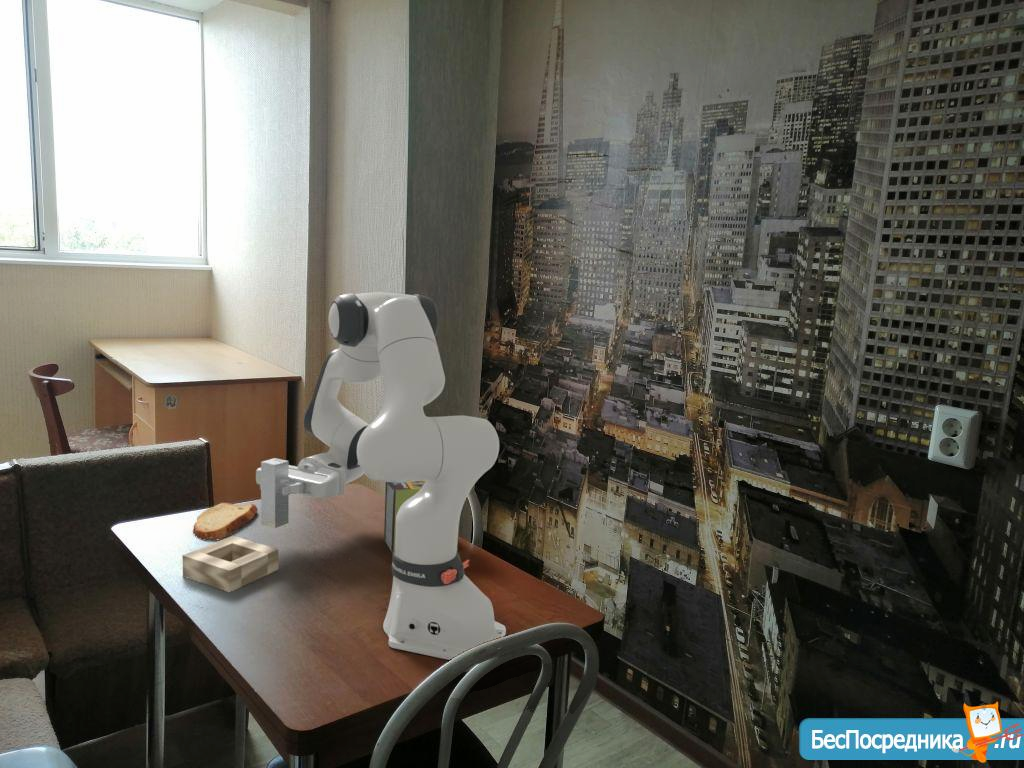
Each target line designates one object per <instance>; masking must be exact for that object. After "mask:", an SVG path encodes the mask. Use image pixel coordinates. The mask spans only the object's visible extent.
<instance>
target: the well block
mask: <svg viewBox="0 0 1024 768" xmlns="http://www.w3.org/2000/svg"><path fill="white" fill-rule="evenodd" d="M278 570H279V549H278V548H275V547H272V546H270V545H266V544H261V543H258V542H256V541H251V540H249V539H246V538H243V537H242V538H241V537H239V536H235V535H231V536H229V537H228V536H227V538H226V537H225V538H222V539H220V540H217V541H216V542H213V543H211V544H208V545H205V546H203V547H201V548H198V549H196V550H193V551H190V552H188V553H185V554H182V577H183V576H185V577H184V578H186V577H188V578H187V579H189V578H191V579H190V580H192V579H194V580H193V581H195V580H196V581H195V582H197V581H199V582H198V583H200V582H202V583H201V584H203V583H205V584H204V585H206V584H207V586H209V585H210V586H209V587H212V586H213V587H212V588H215V589H217V590H222V591H223V590H224V592H227V593H229V592H230V593H232V592H234V591H236V590H238V589H240V588H242V587H244V586H247V585H249V584H251V583H253V582H255V581H257V580H259V579H261V578H263V577H266V576H268V575H270V574H272V573H275V572H276V571H278ZM231 591H232V592H231Z"/></svg>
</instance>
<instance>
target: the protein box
mask: <svg viewBox="0 0 1024 768" xmlns="http://www.w3.org/2000/svg"><path fill="white" fill-rule="evenodd" d="M425 481H426V480H423V481H413V482H403V483H391V482H385V493H384V495H385V497H384V499H385V501H384V529H383V530H384V531H383V541H384V542H385V544H386V546H387V547H388V549H389V551H390V552H391V555H393V551H394V550H395V537H396V516H397V513H398V510H399V508H400V507H401V505H402V504H403V503H404V502H405V501H406V500H408V499H409V498H411V497H412V496H414V495H415V494H416V493H417V492H418V491H419V490H420V489H421V488H422V486H423V485H424V483H425ZM458 531H459V528H458ZM458 546H459V537H458V538H457V550H458V548H459V547H458Z"/></svg>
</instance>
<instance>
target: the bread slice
mask: <svg viewBox="0 0 1024 768" xmlns="http://www.w3.org/2000/svg"><path fill="white" fill-rule="evenodd" d="M230 505H231V506H230ZM258 510H259V508H258V507H257V505H256V504H254V503H251V504H248V505H238V504H234V503H230V502H220V503H219V504H216V505H214V506H212V507H209V508H207V509H206V510H204V511H203V512H202V513H200V514H199V515H198V516H197V518H196V522H195V523H194V525H193V530H192V533H193V535H194V534H195V535H194V536H195V537H196V536H197V537H199V538H201V539H200V540H202V539H205V540H204V541H206V540H215V541H218V540H217V539H220V540H222V539H224V538H226V537H228V536H230V535H232V534H233V532H234V531H235V532H236V531H238V530H239V529H241V528H242V527H244V526H245V525H247V524H248V523H249V522H250V521H251V520H252V519H253V518H254V517H255V515H256V514H257V512H258ZM240 527H241V528H240ZM237 529H238V530H237ZM235 532H234V533H235ZM231 533H232V534H231ZM229 534H230V535H229ZM227 535H228V536H227ZM197 537H196V538H197ZM223 537H224V538H223ZM199 538H198V539H199ZM221 538H222V539H221Z"/></svg>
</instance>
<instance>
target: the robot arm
mask: <svg viewBox="0 0 1024 768" xmlns="http://www.w3.org/2000/svg"><path fill="white" fill-rule="evenodd" d="M439 319H440V315H439V311H438V306H437V305H436V303H435V301H433V299H432V298H431V297H429V296H428V295H427V296H426V295H423V294H416V293H414V294H405V293H396V292H385V291H375V292H373V291H372V292H371V291H370V292H362V293H354V292H349V293H344V294H340V295H337V296H336V297H335V298H334V299H333V300H332V302H331V305H330V309H329V312H328V326H329V327H328V328H329V330H330V332H331V336H332V338H333V339H334V340H335V341H336V343H338V345H339V347H338V348H335V349H334V350H332V351H331V352H330V353H329V354H328V355H327V356H326V358H325V360H324V362H323V364H322V367H321V370H320V373H319V376H318V378H317V382H316V385H315V388H314V389H313V390H314V391H313V394H312V396H311V400H310V401H309V403H308V405H307V408H306V409H305V411H304V414H303V420H302V421H303V428H304V430H305V432H306V433H307V434H308V435H311V436H313V437H314V438H316V439H317V440H319V441H321V442H322V443H324V444H325V445H327V447H329V450H328V451H327V452H320V453H317V454H313V455H310V456H307V457H305V458H302V459H301V460H300V461H299V463H298V465H297V466H296V465H290V464H289V485H283V486H280V487H279V494H281V495H288V494H289V495H297V494H299V495H303V496H306V497H311V498H315V499H319V500H327V499H330V498H333V497H336V496H342V495H345V493H346V484H349V483H351V482H353V481H355V480H357V479H358V478H360V477H362V476H363V475H365V476H366V477H367V478H368V479H370V481H374V482H381V483H382V482H383V483H386V482H391V483H403V482H413V481H423V480H426V481H425V483H424V485H423V486H422V488H421V489H420V490H419V491H418V492H417V493H416V494H415V495H414V496H412V497H411V498H409V499H408V500H406V501H405V502H404V503H403V504H402V505H401V507H400V508H399V510H398V513H397V516H396V537H395V550H394V551H393V554H392V559H391V574H392V587H391V593H390V599H389V603H388V608H387V612H386V615H385V618H384V620H383V625H382V628H383V631H384V632H385V634H386V636H387V637H388V646H389V647H390V648H392V649H396V650H402V651H406V652H411V653H414V654H420V655H425V656H430V657H433V658H438V659H442V660H449V661H451V660H450V659H452V658H453V657H455V656H457V655H458V654H460V653H462V652H463V651H466V650H468V649H470V648H473V647H475V646H477V645H479V644H482V643H484V642H487V641H490V640H493V639H496V638H499V637H503V636H505V635H506V636H507V628H506V626H505V625H504V624H502V623H500V622H498V621H496V620H495V613H494V608H493V604H492V601H491V600H490V598H489V597H488V596H487V595H486V594H485V593H483V592H482V591H481V590H480V588H479V587H478V586H477V585H475V584H474V582H473V581H471V579H470V578H469V577H468V576H466V574H465V569H466V568H467V567H469V566H470V563H469V562H470V559H467V560H465V561H463V562H462V559H461V557H460V554H459V551H458V549H457V538H458V539H459V530H458V528H459V527H460V518H461V513H462V510H463V507H464V504H465V502H466V499H467V497H468V496H469V494H470V492H471V490H472V489H473V487H474V485H475V484H476V483H477V482H478V480H479V479H480V478H481V477H483V475H484V474H485V473H486V472H488V471H489V470H490V469H492V467H493V466H494V465H495V463H496V461H497V459H498V456H499V453H500V439H499V435H498V432H497V431H496V429H495V427H494V426H493V424H492V423H491V422H490V421H489V420H488V419H485V418H481V417H477V416H469V415H448V416H447V415H445V416H426V414H425V412H424V406H427V405H428V404H430V403H432V402H433V401H434V400H436V399H437V398H438V397H439V396H440V395H441V393H442V392H443V390H444V388H445V384H446V376H445V372H444V368H443V367H444V366H443V363H442V359H441V356H440V355H441V354H440V351H439V346H438V344H437V340H436V336H437V334H438V332H439V327H440V325H439V324H440V322H439V321H440V320H439ZM381 377H382V385H383V402H382V406H381V408H380V411H379V412H378V414H377V415H376V416H375V419H374V420H373V421H372V422H371V423H370V424H369V423H368V422H366V421H365V420H363V419H362V418H361V417H359V416H357V415H356V414H354V413H353V412H352V411H350V410H349V409H347V408H346V407H344V406H343V405H342V404H341V401H339V399H338V395H339V392H340V390H341V389H340V388H341V386H342V384H343V382H346V383H350V384H357V385H359V384H361V385H363V384H364V385H365V384H368V383H372V382H375V381H376V380H378V379H379V378H381ZM255 481H256V484H257V485H259V489H260V490H261V466H260V467H257V469H256V470H255Z"/></svg>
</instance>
